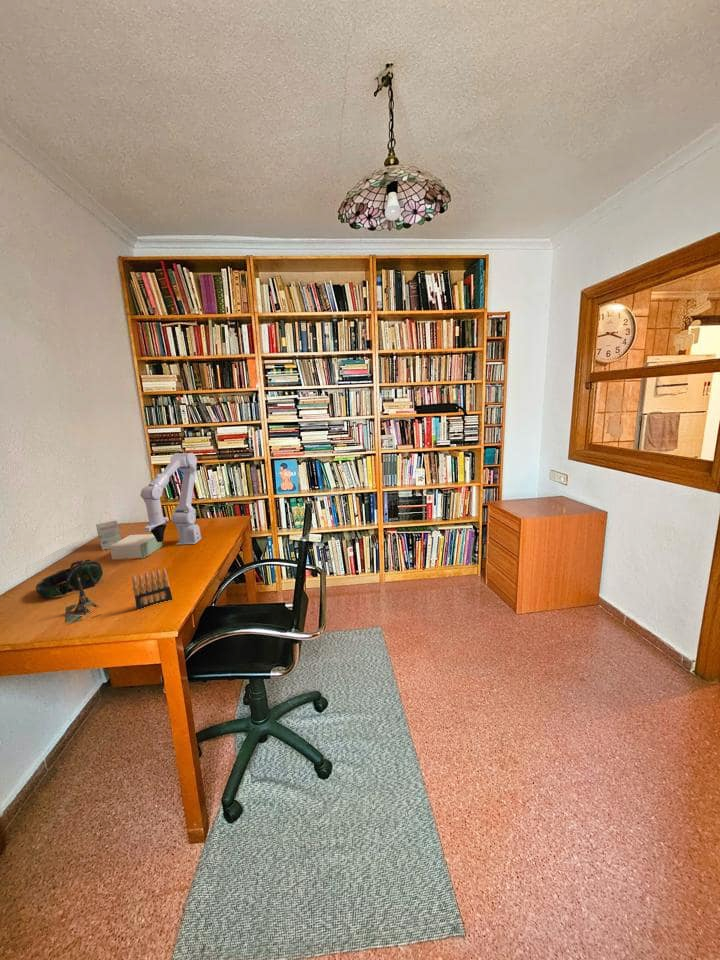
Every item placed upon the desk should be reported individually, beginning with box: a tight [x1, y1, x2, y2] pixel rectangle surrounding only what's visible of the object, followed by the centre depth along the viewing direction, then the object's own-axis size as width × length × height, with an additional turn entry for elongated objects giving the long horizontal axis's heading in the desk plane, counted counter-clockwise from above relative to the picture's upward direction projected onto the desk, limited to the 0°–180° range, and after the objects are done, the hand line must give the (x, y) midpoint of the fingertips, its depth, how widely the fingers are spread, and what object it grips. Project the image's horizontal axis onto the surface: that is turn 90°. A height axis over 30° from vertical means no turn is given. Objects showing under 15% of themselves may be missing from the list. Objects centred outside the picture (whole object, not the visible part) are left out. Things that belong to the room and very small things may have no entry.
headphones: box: [35, 559, 104, 599], centre depth 139 cm, size 13×13×20 cm
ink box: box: [95, 519, 122, 551], centre depth 182 cm, size 9×9×12 cm
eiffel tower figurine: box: [64, 577, 99, 624], centre depth 121 cm, size 15×10×13 cm
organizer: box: [109, 533, 154, 560], centre depth 171 cm, size 14×14×6 cm
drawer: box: [140, 536, 163, 559], centre depth 171 cm, size 14×14×6 cm
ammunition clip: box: [131, 567, 173, 611], centre depth 123 cm, size 11×2×12 cm, turn 122°
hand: (160, 541), depth 166 cm, fingers closed
